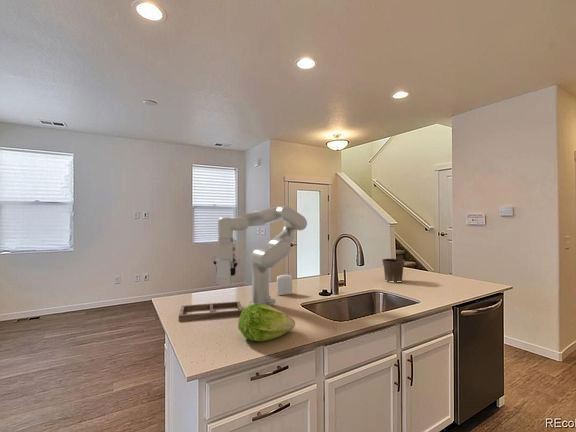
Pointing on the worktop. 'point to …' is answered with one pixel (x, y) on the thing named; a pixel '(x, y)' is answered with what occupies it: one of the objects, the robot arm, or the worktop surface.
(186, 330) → the worktop surface
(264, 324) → the lettuce
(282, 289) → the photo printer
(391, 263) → the plant pot
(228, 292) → the worktop surface
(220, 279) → the supplement box
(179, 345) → the worktop surface
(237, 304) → the tray
